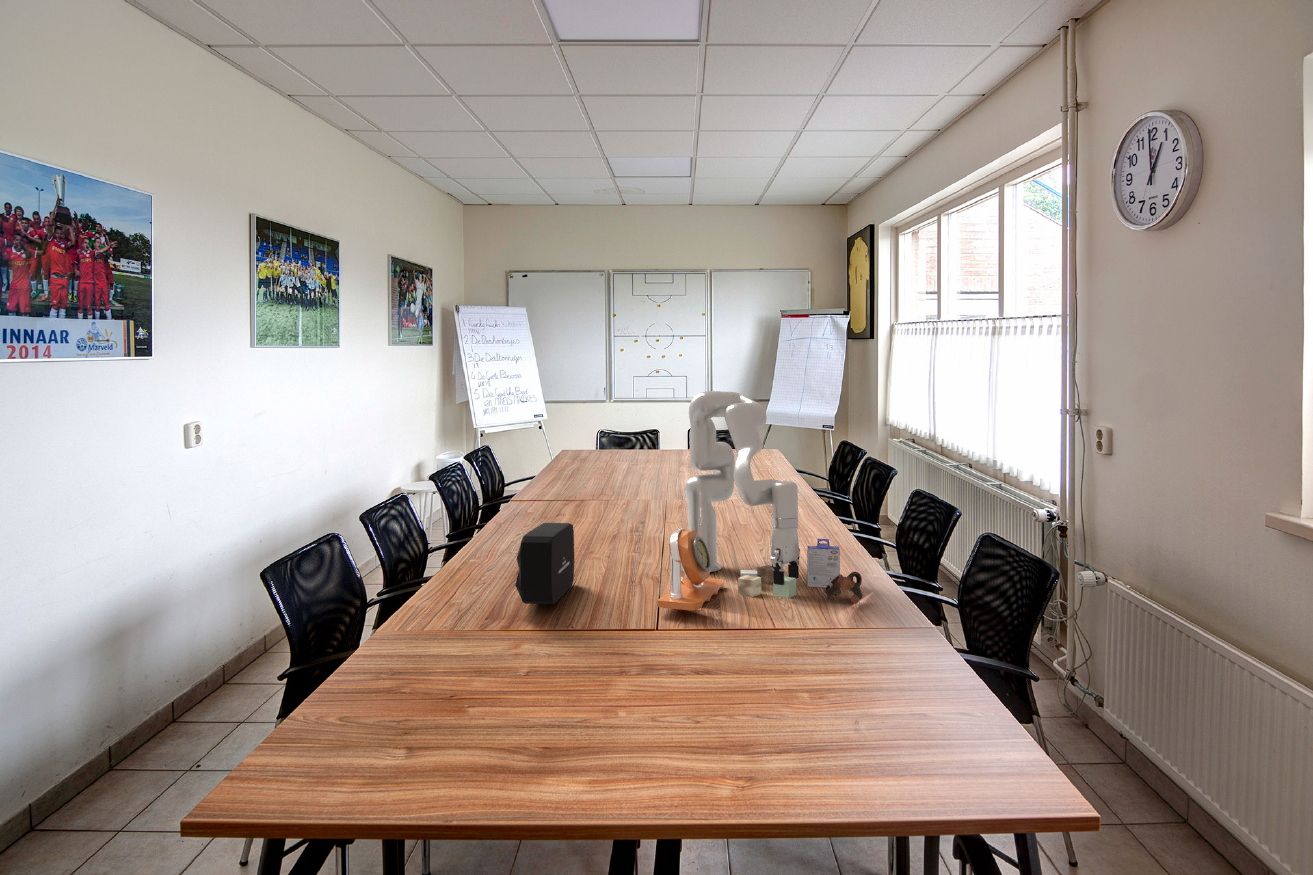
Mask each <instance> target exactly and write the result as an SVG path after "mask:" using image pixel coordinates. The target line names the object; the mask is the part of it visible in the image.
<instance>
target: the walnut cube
mask: <svg viewBox="0 0 1313 875" xmlns="http://www.w3.org/2000/svg"><path fill="white" fill-rule="evenodd" d="M756 570H757V574H758V577H761V583H763V582H764V584H765V585H770V584H773V567H772V564H771V565H770V564H767V565H760V566H757V567H756Z"/></svg>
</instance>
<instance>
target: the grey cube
mask: <svg viewBox="0 0 1313 875" xmlns="http://www.w3.org/2000/svg"><path fill="white" fill-rule="evenodd" d="M745 575H749V576H756V577H758V574H757V569H740V577H743V576H745Z"/></svg>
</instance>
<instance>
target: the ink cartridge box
mask: <svg viewBox="0 0 1313 875" xmlns="http://www.w3.org/2000/svg"><path fill="white" fill-rule="evenodd" d="M825 542H826V543H825ZM840 550H841V549H840V547H839V546H836V545H833V546H831V545H830V539H829V538H817V542H816V545H807V553H806V557H807V559H806V560H807V561H806V562H807V568H806V569H807V570H806V572H807V579H806V580H807V588H808V587H810V588H826V587H827V585H829V586H830V587H831V586H832V585H833V584H832V583H831V581H832V580H833V579H834V578H835V577H837V576H838V575H840V574H841V573H840V572H841V552H840Z"/></svg>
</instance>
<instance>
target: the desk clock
mask: <svg viewBox="0 0 1313 875" xmlns="http://www.w3.org/2000/svg"><path fill="white" fill-rule="evenodd" d="M668 546H669V550H670V552H669V553H670V557H671V562H670V563H671V565H670V566H671V570H670V571H671V577H670V578H671V580H670V582H671V590H670V591H668V592H667V593H666V594H664V595H662V596H661V597H660V598H659V599H656V608H662V609H673V610H680V611H681V610H684V611H689V612H691V611H697V610H700V609H702V608H703V605H704V603H705V602H710V601H711V599H712V596H716V595H718V593H719V590H721V589H725V580H724V579H720V578H713V577H711V578H710V573H711V572H709V570H710V567H711V561H710V555H709V551H708V548H707V546H706V544H705V542H704V541H703V539H702V538H701V537H699V536H698V534H697V533H696V531H695V530H688V529H686V528H683V527H682V528H679V529H676V530H674V531H673V532H672V534H671V537H670V541H669V543H668Z"/></svg>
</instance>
